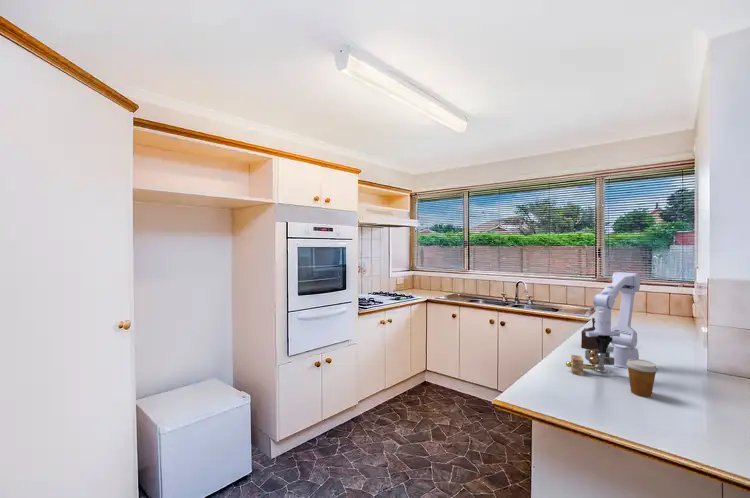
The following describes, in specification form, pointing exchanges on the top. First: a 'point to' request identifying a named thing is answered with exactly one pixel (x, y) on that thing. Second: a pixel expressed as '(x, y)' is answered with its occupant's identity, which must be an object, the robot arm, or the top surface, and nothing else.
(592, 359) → the brass bar with knob
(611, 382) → the top surface
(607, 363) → the locking wheel
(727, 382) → the top surface
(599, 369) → the axle post
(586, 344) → the coffee grinder
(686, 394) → the top surface
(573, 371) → the block
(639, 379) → the disposable coffee cup
